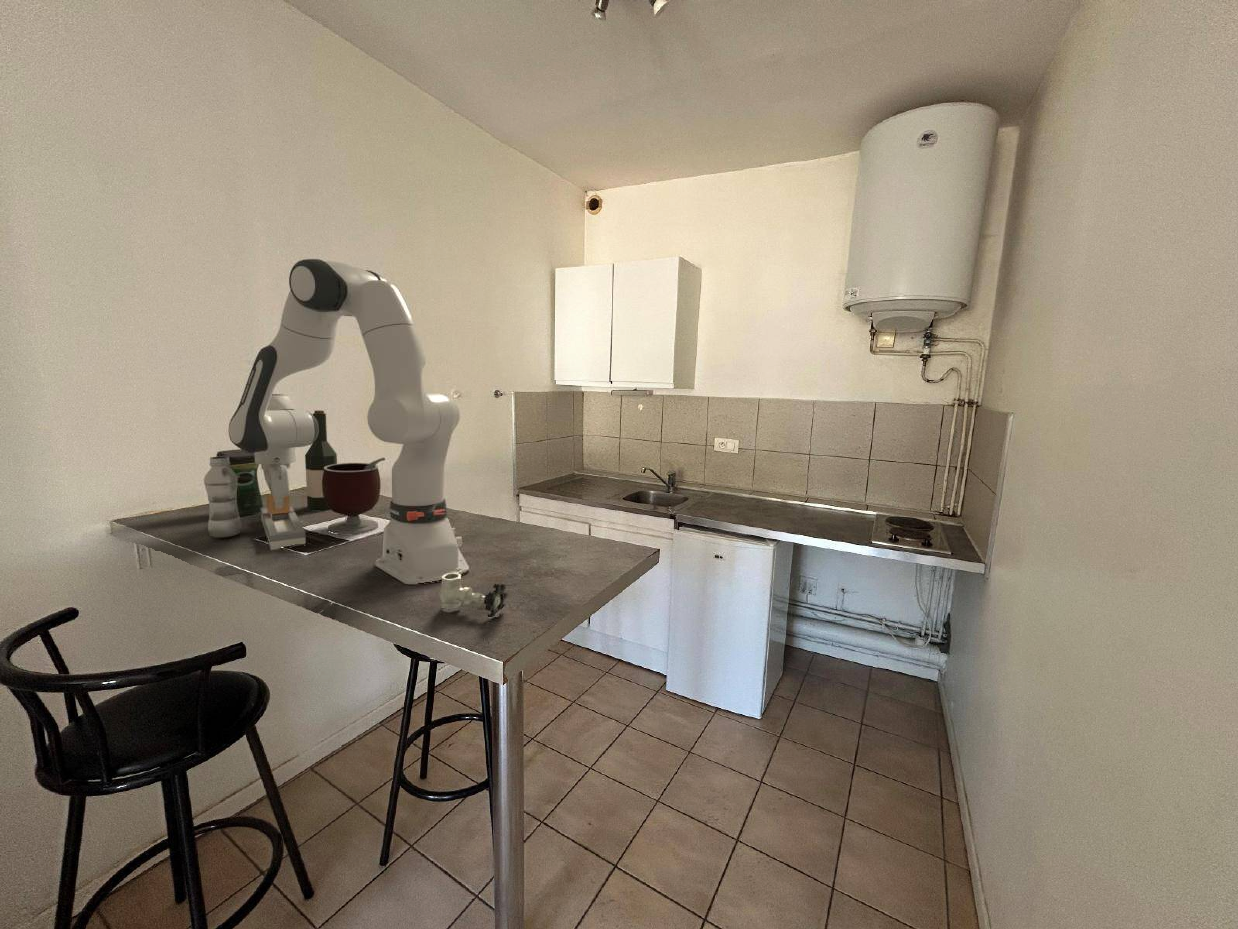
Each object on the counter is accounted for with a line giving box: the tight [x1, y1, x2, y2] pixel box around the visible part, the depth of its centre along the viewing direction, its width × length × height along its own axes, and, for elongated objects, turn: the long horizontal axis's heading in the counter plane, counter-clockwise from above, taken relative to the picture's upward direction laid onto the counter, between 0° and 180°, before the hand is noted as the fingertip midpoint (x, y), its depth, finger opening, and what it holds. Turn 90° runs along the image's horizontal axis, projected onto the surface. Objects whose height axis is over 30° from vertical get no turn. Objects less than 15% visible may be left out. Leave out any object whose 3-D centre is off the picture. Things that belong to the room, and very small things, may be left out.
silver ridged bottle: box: [203, 456, 243, 539], centre depth 121 cm, size 6×7×20 cm
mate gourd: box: [322, 457, 386, 535], centre depth 133 cm, size 16×14×20 cm
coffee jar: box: [215, 448, 264, 517], centre depth 140 cm, size 10×8×19 cm
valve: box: [439, 573, 509, 618], centre depth 91 cm, size 7×7×12 cm
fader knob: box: [266, 493, 291, 520], centre depth 132 cm, size 3×5×7 cm, turn 129°
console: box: [260, 504, 307, 551], centre depth 128 cm, size 28×7×4 cm, turn 39°
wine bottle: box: [304, 409, 338, 512], centre depth 149 cm, size 8×8×30 cm
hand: (278, 506), depth 132 cm, fingers closed on fader knob, 2 cm apart
